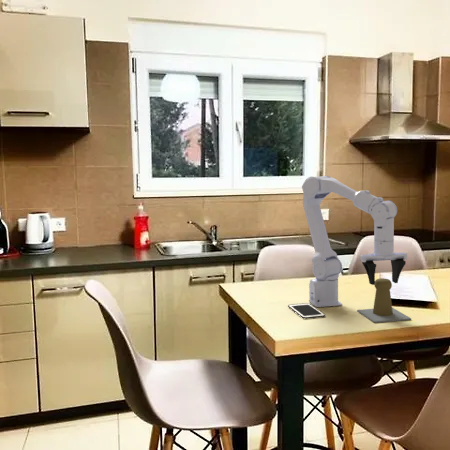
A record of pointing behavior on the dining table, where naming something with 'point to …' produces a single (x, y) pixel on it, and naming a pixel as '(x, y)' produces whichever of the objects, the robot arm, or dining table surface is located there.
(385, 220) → the robot arm
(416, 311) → the dining table surface
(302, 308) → the cell phone
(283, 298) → the dining table surface
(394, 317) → the slate mat
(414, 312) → the dining table surface
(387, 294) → the cork
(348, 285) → the dining table surface
